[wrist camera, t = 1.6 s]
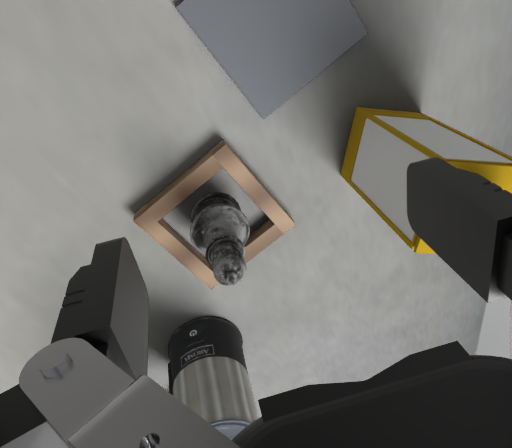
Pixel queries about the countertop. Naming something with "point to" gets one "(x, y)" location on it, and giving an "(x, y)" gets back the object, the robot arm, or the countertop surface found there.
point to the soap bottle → (410, 161)
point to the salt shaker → (221, 236)
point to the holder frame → (191, 181)
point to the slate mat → (273, 42)
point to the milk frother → (212, 374)
